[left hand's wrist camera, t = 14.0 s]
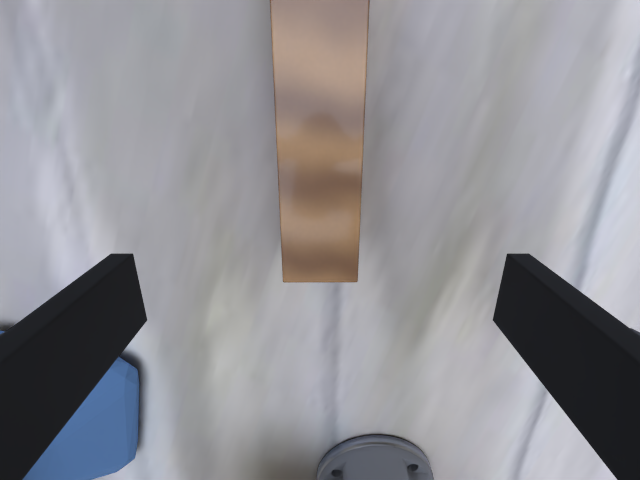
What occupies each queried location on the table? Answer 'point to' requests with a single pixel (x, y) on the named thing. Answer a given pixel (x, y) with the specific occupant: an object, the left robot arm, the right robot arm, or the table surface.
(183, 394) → the table surface
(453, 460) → the table surface
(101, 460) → the figurine
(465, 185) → the table surface
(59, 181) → the table surface
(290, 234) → the beam
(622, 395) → the left robot arm
